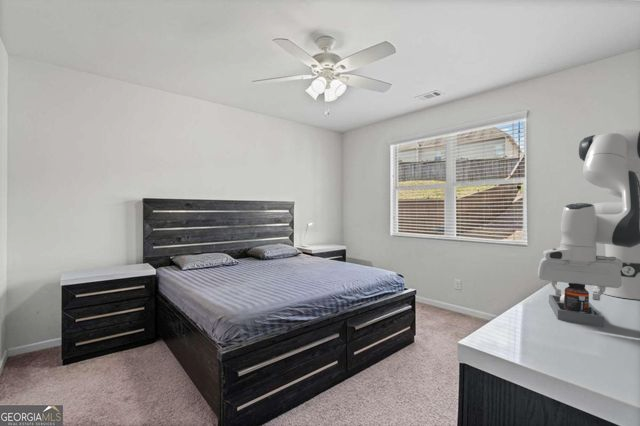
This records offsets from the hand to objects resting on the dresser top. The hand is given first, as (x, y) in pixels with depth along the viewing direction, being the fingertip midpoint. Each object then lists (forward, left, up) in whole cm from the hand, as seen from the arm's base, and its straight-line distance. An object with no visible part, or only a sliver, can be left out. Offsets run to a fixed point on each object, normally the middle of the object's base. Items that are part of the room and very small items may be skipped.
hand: (576, 297), depth 96 cm
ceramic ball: (-10, 0, -6) cm, 12 cm away
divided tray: (-5, 0, -7) cm, 8 cm away
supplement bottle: (0, 0, -7) cm, 7 cm away
